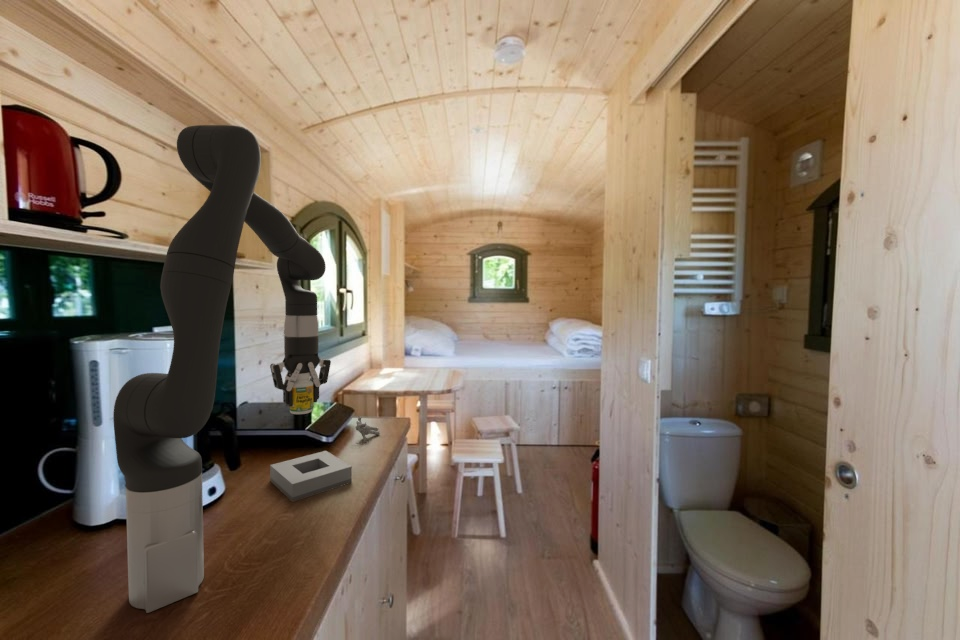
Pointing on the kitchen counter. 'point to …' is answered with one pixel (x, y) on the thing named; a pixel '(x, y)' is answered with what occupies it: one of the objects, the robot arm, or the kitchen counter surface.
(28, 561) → the kitchen counter surface
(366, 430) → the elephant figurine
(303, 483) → the socket block
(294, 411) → the supplement bottle
